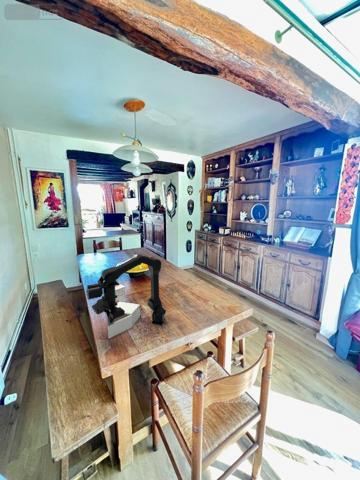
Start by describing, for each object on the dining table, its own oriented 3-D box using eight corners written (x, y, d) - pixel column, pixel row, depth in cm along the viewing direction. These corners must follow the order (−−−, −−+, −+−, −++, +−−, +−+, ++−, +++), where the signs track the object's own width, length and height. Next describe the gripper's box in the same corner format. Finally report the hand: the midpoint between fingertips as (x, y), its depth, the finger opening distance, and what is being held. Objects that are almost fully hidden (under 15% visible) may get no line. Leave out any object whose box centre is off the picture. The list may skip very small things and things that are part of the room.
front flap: (131, 326, 115) (131, 308, 113) (132, 327, 114) (132, 308, 112) (108, 338, 105) (107, 318, 103) (109, 339, 105) (108, 318, 102)
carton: (139, 316, 126) (139, 304, 125) (131, 326, 116) (131, 313, 114) (119, 313, 129) (119, 301, 128) (110, 322, 119) (109, 310, 117)
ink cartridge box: (115, 306, 138) (114, 285, 135) (111, 303, 141) (110, 284, 138) (125, 301, 144) (125, 282, 142) (121, 299, 147) (120, 280, 145)
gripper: (85, 293, 102) (87, 320, 105) (102, 306, 89) (104, 338, 92) (106, 286, 110) (108, 312, 113) (124, 298, 97) (125, 327, 100)
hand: (110, 322), depth 104 cm, fingers closed
